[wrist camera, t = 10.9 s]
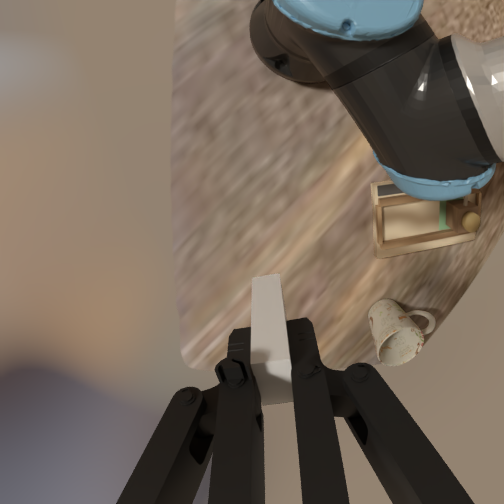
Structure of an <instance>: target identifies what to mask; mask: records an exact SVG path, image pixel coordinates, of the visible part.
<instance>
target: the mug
mask: <svg viewBox="0 0 504 504" xmlns="http://www.w3.org/2000/svg"><path fill="white" fill-rule="evenodd" d="M412 315H421V316H424V317H426V318H427V319H428V320H429V325H428V327H427V328H425V329H422V330H420V328H419V327H418V326H417V325H416V324H415V323H414V322H413V320H412V319H411V318H410V317H409V316H412ZM368 319H369V323H370V327H371V331H372V335H373V340H374V344H375V348H376V353H377V356H378V359H379V361H380V362H381V363H383V364H384V365H387V366H397V365H401V364H403V363H405V362H408V361H409V360H411V359H412V358H413V357H415V356H416V355H417V354H418V352H419V351H420V350H421V348H422V346H423V343H424V335H426V334H428V333H430V332H432V331H433V329H434V328H435V324H436V321H435V318H434V316H433V315H432V314H430V313H429V312H426V311H421V310H413V311H410V312H407V313H405V312H404V310H403V309H402V308H401V307H400V306H399V305H398V304H397V303H396V302H395V301H394V300H391V299H383V300H380V301H378V302H377V303H375V304H374V305H373V306H372V307H371V309H370V311H369V314H368Z"/></svg>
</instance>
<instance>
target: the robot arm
mask: <svg viewBox="0 0 504 504" xmlns="http://www.w3.org/2000/svg"><path fill="white" fill-rule="evenodd" d="M423 1H424V0H260V1H259V2H258V3H257V5H256V6H255V8H254V10H253V12H252V15H251V19H250V38H251V43H252V46H253V48H254V50H255V52H256V54H257V56H258V57H259V58H260V60H261V61H262V62H263V63H264V64H265V65H266V66H267V67H268V68H269V69H270V70H272V71H273V72H275V73H276V74H278V75H280V76H282V77H284V78H286V79H289V80H292V81H296V82H302V83H318V82H324V81H327V83H328V84H329V85H330V87H331V88H332V90H333V91H334V92H335V94H336V95H337V97H338V98H339V99H340V101H341V102H342V104H343V105H344V106H345V108H346V109H347V111H348V112H349V114H350V115H351V117H352V118H353V120H354V121H355V123H356V124H357V126H358V127H359V129H360V130H361V132H362V133H363V135H364V136H365V138H366V139H367V141H368V143H369V144H370V146H371V147H372V149H373V154H374V156H375V158H376V160H377V162H378V163H379V164H380V165H381V166H382V167H383V168H384V169H385V170H386V172H387V174H388V175H389V177H390V178H391V180H392V181H393V183H394V184H395V185H396V186H397V187H398V188H399V189H400V190H401V191H402V192H404V193H405V194H407V195H409V196H412V197H414V198H417V199H422V200H428V201H444V200H452V199H456V198H460V197H463V196H466V195H469V194H471V189H473V188H476V189H480V188H481V187H483V186H484V185H485V184H487V183H488V182H489V180H490V179H491V177H492V176H493V174H494V172H495V168H496V163H499V162H504V36H502V37H498V38H495V39H492V40H489V41H486V42H483V43H480V42H475V41H473V40H471V39H469V38H467V37H464V36H462V35H460V34H458V33H456V34H452V35H449V36H447V37H444V38H442V39H438V38H437V37H436V35H435V34H434V32H433V31H432V29H431V28H430V26H429V25H428V23H427V22H426V20H425V19H424V17H423V16H422V14H421V10H422V7H423ZM215 372H216V375H217V377H218V379H219V382H220V383H219V384H218V385H217V386H215V387H213V388H211V389H207V390H204V391H200V390H199V389H198V388H195V387H186V388H183V389H180V390H179V391H177V392H176V393H175V395H174V396H173V398H172V399H171V401H170V403H169V405H168V407H167V409H166V411H165V413H164V414H163V417H162V418H161V420H160V422H159V424H158V426H157V428H156V430H155V431H154V433H153V435H152V437H151V439H150V441H149V443H148V445H147V447H146V448H145V450H144V452H143V454H142V456H141V458H140V460H139V461H138V463H137V465H136V467H135V469H134V471H133V473H132V475H131V477H130V478H129V480H128V482H127V484H126V486H125V488H124V490H123V492H122V494H121V495H120V497H119V499H118V501H117V503H116V504H192V503H193V500H194V498H195V496H196V493H197V491H198V488H199V486H200V483H201V481H202V478H203V476H204V473H205V471H206V468H207V465H208V463H209V461H210V458H211V455H212V453H213V457H212V467H211V478H210V488H209V499H208V504H265V481H264V480H265V475H264V474H265V473H264V427H263V426H264V424H263V423H264V421H263V413H262V409H261V402H262V405H263V406H264V405H272V404H280V403H287V402H294V411H295V421H296V432H297V443H298V454H299V465H300V477H301V489H302V501H303V504H349V497H348V492H347V485H346V480H345V474H344V468H343V462H342V457H341V451H340V446H339V441H338V436H337V430H336V425H335V420H334V416H335V417H344V419H345V421H346V423H347V424H348V426H349V428H350V429H351V431H352V433H353V435H354V437H355V438H356V440H357V442H358V444H359V445H360V447H361V449H362V451H363V452H364V454H365V456H366V458H367V459H368V461H369V463H370V465H371V466H372V468H373V470H374V471H375V473H376V475H377V477H378V479H379V480H380V482H381V484H382V485H383V487H384V489H385V491H386V493H387V494H388V496H389V498H390V499H391V501H392V503H393V504H474V503H473V501H472V500H471V498H470V497H469V495H468V494H467V493H466V491H465V490H464V488H463V487H462V485H461V484H460V483H459V481H458V480H457V478H456V477H455V476H454V474H453V473H452V472H451V470H450V469H449V467H448V466H447V464H446V463H445V462H444V460H443V459H442V457H441V456H440V455H439V453H438V452H437V451H436V449H435V448H434V446H433V445H432V444H431V442H430V441H429V440H428V438H427V437H426V436H425V434H424V433H423V432H422V430H421V429H420V427H419V426H418V425H417V423H416V422H415V421H414V419H413V418H412V417H411V415H410V414H409V413H408V411H407V410H406V409H405V407H404V406H403V405H402V403H401V402H400V401H399V399H398V398H397V397H396V395H395V394H394V393H393V391H392V390H391V389H390V387H389V386H388V385H387V383H386V382H385V381H384V379H383V378H382V377H381V376H380V374H379V373H378V372H377V370H376V369H375V368H374V367H373V366H372V365H370V364H367V363H356V364H352V365H351V366H349V367H347V369H346V370H345V371H339V370H332V369H329V368H327V367H326V366H324V365H323V363H322V362H321V359H320V355H319V350H318V346H317V341H316V337H315V333H314V328H313V324H312V322H311V321H310V320H309V319H308V318H307V317H306V318H300V319H294V320H288V321H287V316H286V309H285V303H284V298H283V292H282V286H281V280H280V275H279V273H278V274H272V275H266V276H260V277H254V278H252V309H251V327H247V328H240V329H234V330H233V331H232V333H231V335H230V336H229V342H228V352H227V358H225V359H223V360H221V361H220V362H219V363H218V364H217V365H216V367H215Z"/></svg>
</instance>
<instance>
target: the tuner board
mask: <svg viewBox="0 0 504 504" xmlns="http://www.w3.org/2000/svg"><path fill="white" fill-rule="evenodd" d="M371 195H372V211H373V232H374V256H375V257H376V258H377V259H381V258H386V257H391V256H396V255H402V254H407V253H412V252H417V251H422V250H427V249H432V248H437V247H442V246H447V245H451V244H456V243H461V242H466V241H471V240H475V233H476V232H477V230H476V231H475V232H473V233H470V232H464V233H459V234H457V233H456V232H455V231H454V230H452V229H451V228H450V227H448V226H447V225H446V201H451V200H444V201H428V200H422V199H417V198H414V197H412V196H409V195H407V194H405V193H404V192H402V191H401V190H400V189H399V188H398V187H397V186H396V185H395V184H394V183H393V181H392V180H390V181H382V182H375V183H371ZM481 196H482V192H480V189H476V188H473V189H471V194H469V195H468V201H470V202H472V203H473V204H475V205H477V206H478V216H479V217H480V213H481ZM458 199H464V196H463V197H460V198H456V199H452V200H458Z"/></svg>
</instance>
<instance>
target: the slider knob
mask: <svg viewBox="0 0 504 504" xmlns="http://www.w3.org/2000/svg"><path fill="white" fill-rule="evenodd" d="M446 225H447V226H448V227H450V228H451V229H452V230H454V231H455V232H456V233H457V234H459V233H464V232H470V233H473V232H475V231H476V230H477V229H478V228H479V226H480V217H479V216H478V206H477V205H475V204H473V203H472V202H470V201H468V195H466V196H464V199H458V200H451V201H446Z"/></svg>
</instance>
